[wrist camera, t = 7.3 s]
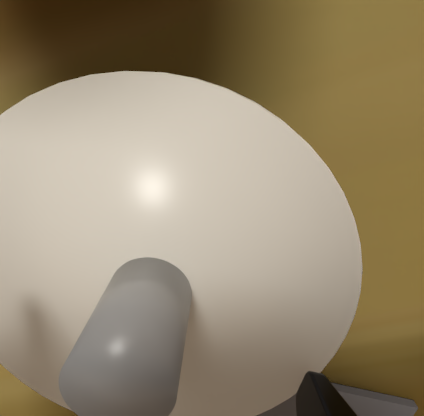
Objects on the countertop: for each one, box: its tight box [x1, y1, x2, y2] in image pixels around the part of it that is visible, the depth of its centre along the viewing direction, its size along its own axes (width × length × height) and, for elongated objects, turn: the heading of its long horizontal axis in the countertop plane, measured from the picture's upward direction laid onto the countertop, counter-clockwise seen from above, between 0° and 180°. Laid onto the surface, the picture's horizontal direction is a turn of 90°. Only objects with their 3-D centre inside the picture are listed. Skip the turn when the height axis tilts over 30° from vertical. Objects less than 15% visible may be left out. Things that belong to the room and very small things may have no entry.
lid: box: [0, 71, 362, 416], centre depth 9 cm, size 13×13×4 cm
